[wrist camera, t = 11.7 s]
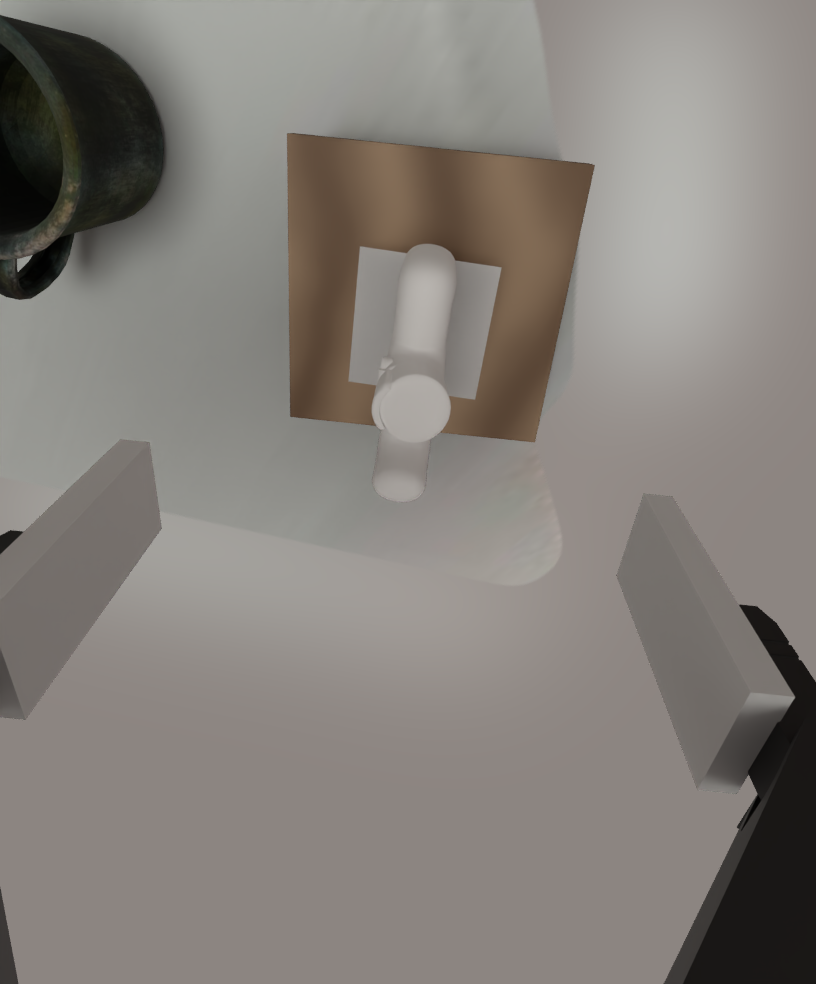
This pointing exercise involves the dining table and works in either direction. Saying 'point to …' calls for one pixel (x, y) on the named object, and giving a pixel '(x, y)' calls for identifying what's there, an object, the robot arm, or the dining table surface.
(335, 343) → the walnut stool
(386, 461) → the figurine
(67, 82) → the mug
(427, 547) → the dining table surface
